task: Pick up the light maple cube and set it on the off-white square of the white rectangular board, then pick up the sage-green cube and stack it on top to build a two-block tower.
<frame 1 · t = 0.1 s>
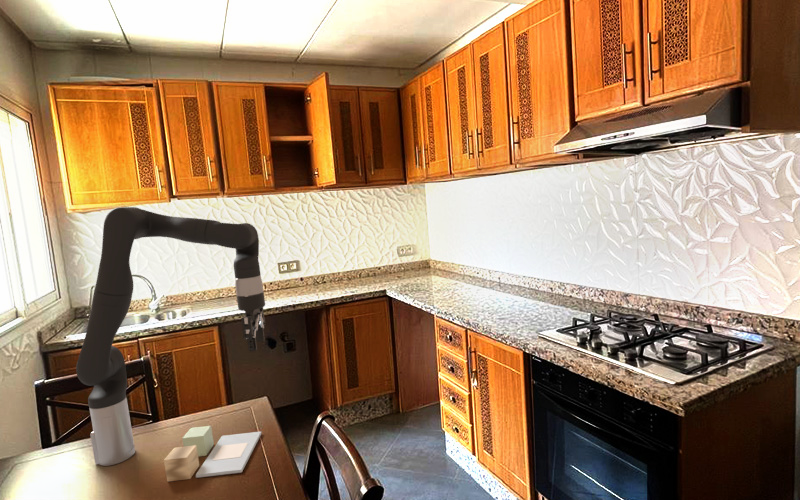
hand: (257, 346, 131), 29 cm above the table, fingers open, 8 cm apart
maple block: (183, 473, 121), on the table
sage block: (199, 451, 131), on the table
white rectangular board: (231, 454, 128), on the table
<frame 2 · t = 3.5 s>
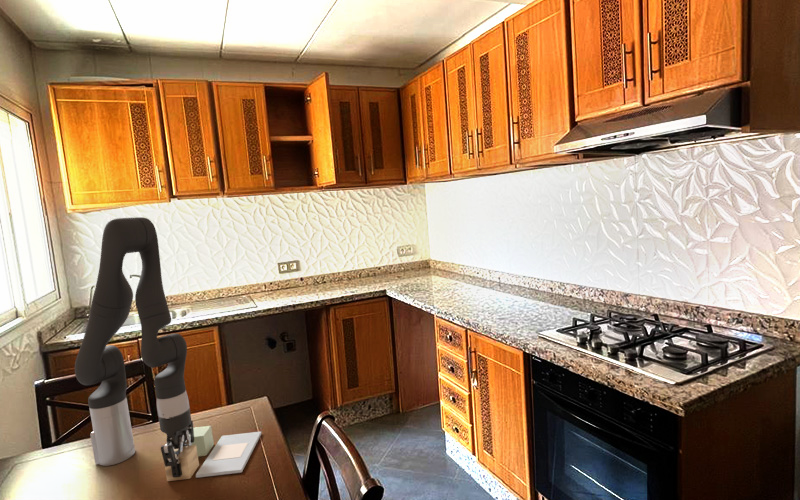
hand: (183, 468, 120), 1 cm above the table, fingers closed on maple block, 6 cm apart
maple block: (183, 473, 121), on the table, touching gripper
everything else where it was.
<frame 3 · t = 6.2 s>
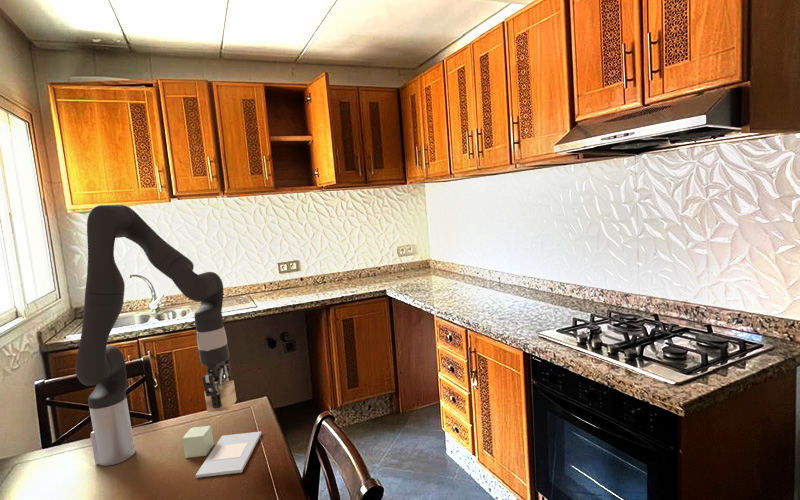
hand: (221, 402, 125), 16 cm above the table, fingers closed on maple block, 6 cm apart
maple block: (222, 406, 126), point 15 cm above the table, touching gripper
everything else where it was.
when the fingers open (4 cm above the table, at t = 9.1 s): maple block drops 1 cm, resting on white rectangular board.
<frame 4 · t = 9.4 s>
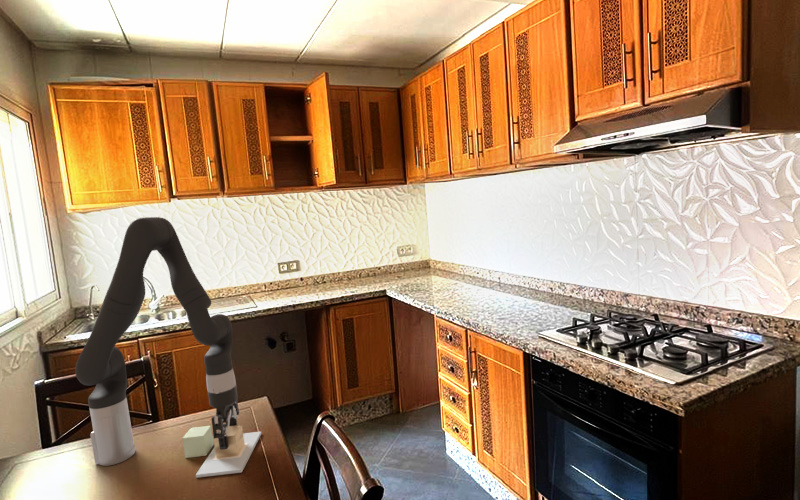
hand: (229, 440, 127), 4 cm above the table, fingers open, 8 cm apart
maple block: (230, 451, 128), point 1 cm above the table, touching white rectangular board
everything else where it was.
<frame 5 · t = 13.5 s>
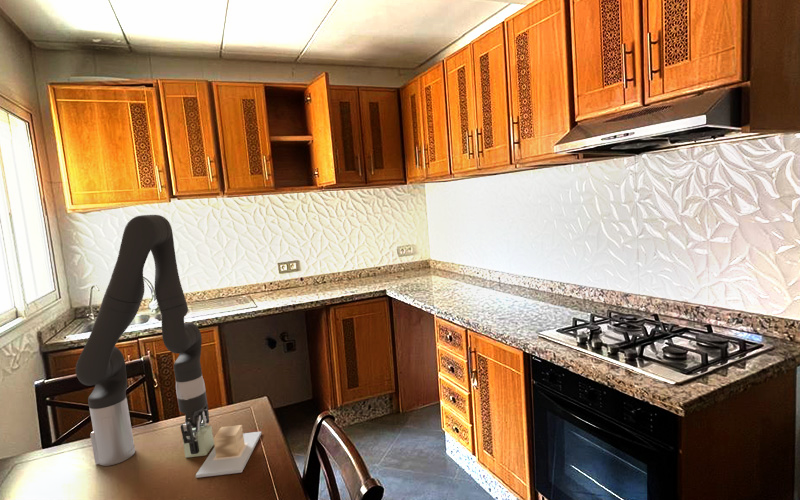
hand: (199, 446, 131), 1 cm above the table, fingers closed on sage block, 6 cm apart
sage block: (200, 450, 131), on the table, touching gripper
everything else where it was.
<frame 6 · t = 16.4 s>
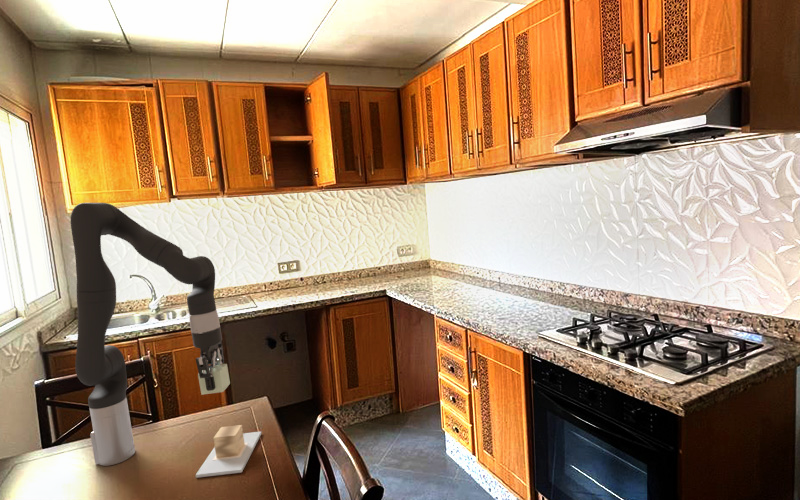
hand: (215, 384, 127), 20 cm above the table, fingers closed on sage block, 6 cm apart
sage block: (216, 388, 127), point 19 cm above the table, touching gripper
everything else where it was.
when the fingers open (10 cm above the table, at t = 19.1 s): sage block drops 1 cm, resting on maple block.
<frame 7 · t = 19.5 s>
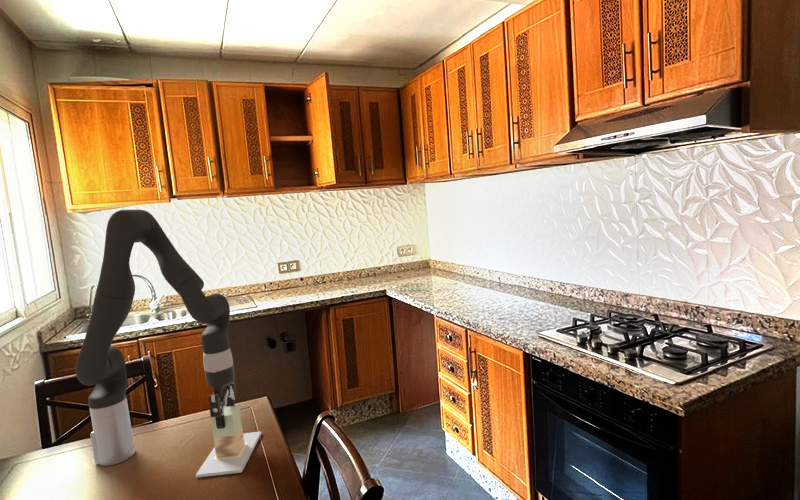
hand: (226, 420, 127), 10 cm above the table, fingers open, 8 cm apart
maple block: (230, 451, 128), point 1 cm above the table, touching white rectangular board, sage block
sage block: (228, 431, 127), point 7 cm above the table, touching maple block
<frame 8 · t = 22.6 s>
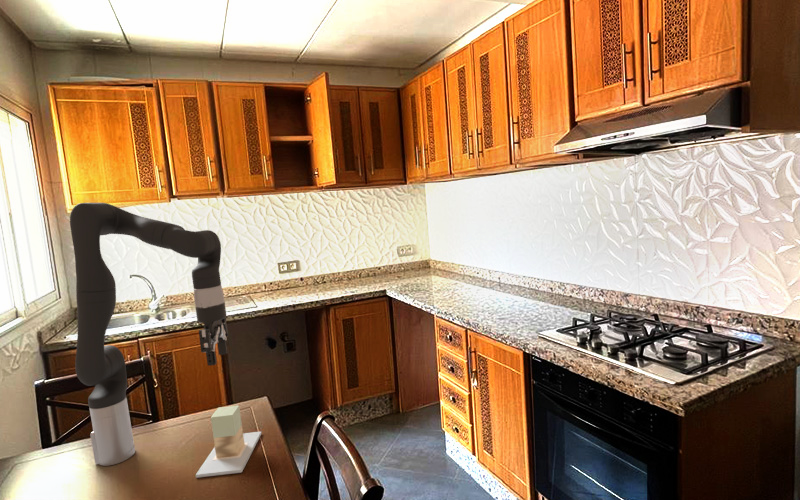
hand: (217, 359, 125), 28 cm above the table, fingers open, 8 cm apart
nothing on the table moved.
at the end: maple block 0.0 cm off-centre on the white rectangular board, point 0.9 cm above the white rectangular board's base; sage block 0.0 cm off-centre on the white rectangular board, point 6.9 cm above the white rectangular board's base; sage block tilted 0° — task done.
